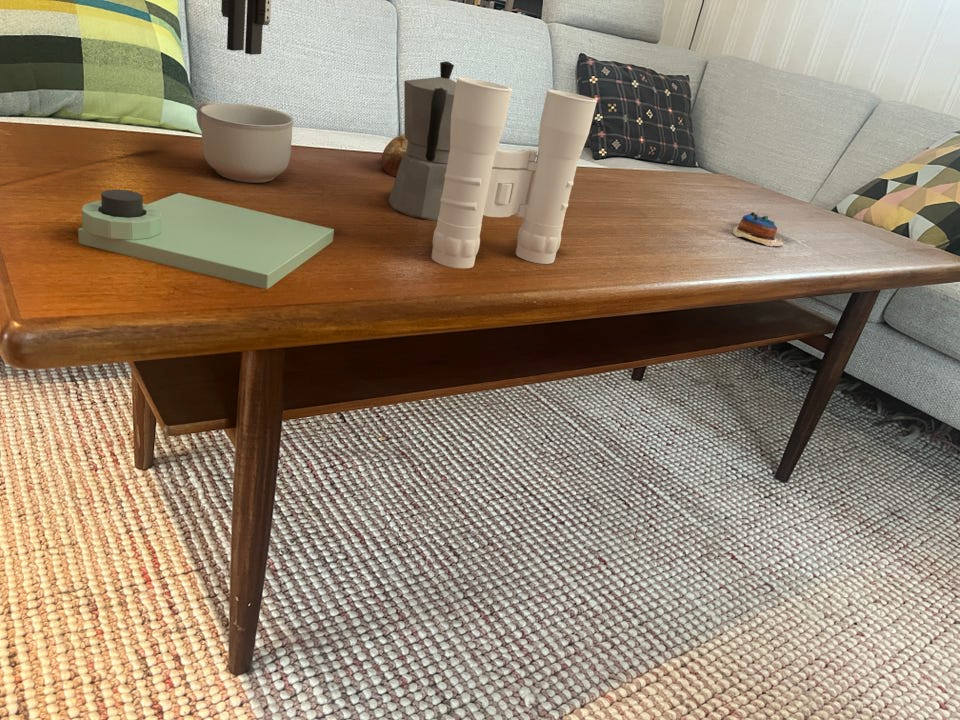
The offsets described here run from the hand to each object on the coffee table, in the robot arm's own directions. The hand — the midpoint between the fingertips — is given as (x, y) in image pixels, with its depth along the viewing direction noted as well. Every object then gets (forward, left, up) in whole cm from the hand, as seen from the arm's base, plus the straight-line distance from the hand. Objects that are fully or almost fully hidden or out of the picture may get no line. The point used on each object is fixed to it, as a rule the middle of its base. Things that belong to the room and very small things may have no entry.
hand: (244, 51), depth 86 cm
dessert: (+72, +32, -15) cm, 80 cm away
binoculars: (+35, -10, -15) cm, 39 cm away
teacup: (0, 0, -15) cm, 15 cm away
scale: (+10, -25, -15) cm, 31 cm away
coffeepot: (+24, +2, -15) cm, 28 cm away
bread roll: (+18, +22, -15) cm, 32 cm away
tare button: (+4, -31, -12) cm, 33 cm away
